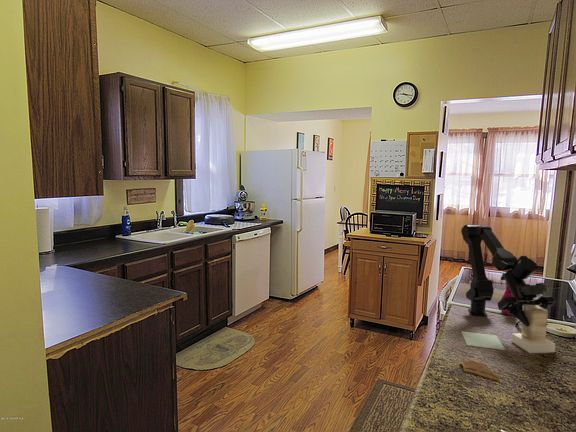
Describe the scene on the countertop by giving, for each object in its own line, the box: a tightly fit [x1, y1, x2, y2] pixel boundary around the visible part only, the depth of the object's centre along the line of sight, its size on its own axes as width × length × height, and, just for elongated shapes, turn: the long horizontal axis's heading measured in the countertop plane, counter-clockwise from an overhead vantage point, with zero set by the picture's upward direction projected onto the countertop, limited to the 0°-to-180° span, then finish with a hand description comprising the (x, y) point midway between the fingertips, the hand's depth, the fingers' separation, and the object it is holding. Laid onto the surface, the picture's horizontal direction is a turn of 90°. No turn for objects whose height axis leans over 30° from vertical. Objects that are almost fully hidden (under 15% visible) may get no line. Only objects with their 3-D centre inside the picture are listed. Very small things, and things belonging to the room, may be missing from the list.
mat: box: [461, 330, 506, 351], centre depth 136 cm, size 12×12×1 cm
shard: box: [458, 359, 502, 382], centre depth 113 cm, size 11×8×2 cm
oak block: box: [521, 305, 549, 342], centre depth 130 cm, size 5×5×11 cm
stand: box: [511, 332, 556, 354], centre depth 131 cm, size 9×9×3 cm
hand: (537, 325), depth 129 cm, fingers open, 6 cm apart
